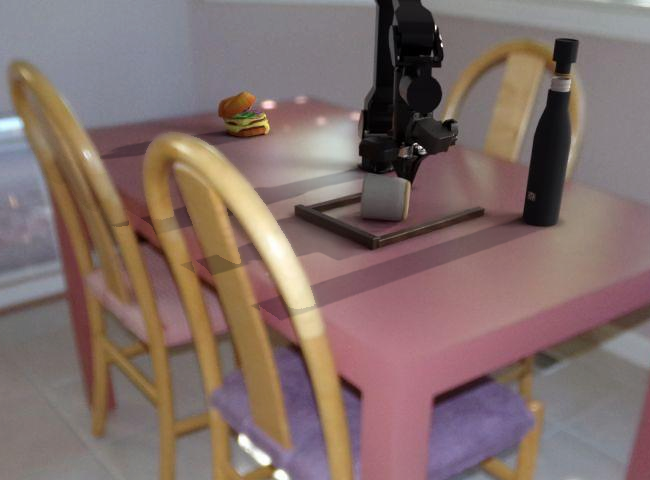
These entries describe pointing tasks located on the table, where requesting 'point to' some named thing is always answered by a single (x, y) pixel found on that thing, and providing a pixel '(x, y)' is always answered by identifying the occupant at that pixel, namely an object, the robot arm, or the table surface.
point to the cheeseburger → (242, 116)
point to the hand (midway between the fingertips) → (406, 191)
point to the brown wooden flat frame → (368, 239)
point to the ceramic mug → (384, 197)
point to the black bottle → (551, 143)
